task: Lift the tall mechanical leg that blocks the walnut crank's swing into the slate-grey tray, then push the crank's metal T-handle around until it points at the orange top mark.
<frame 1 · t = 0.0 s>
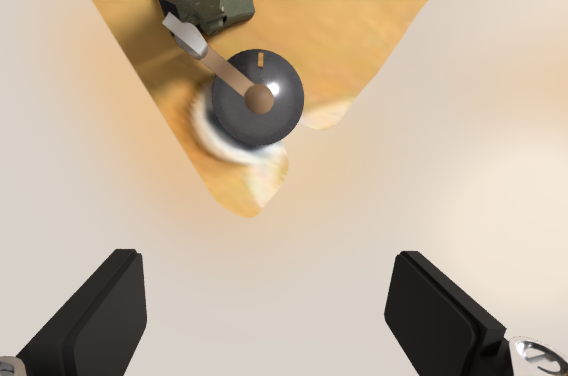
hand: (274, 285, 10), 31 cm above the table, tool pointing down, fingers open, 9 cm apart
mechanical leg: (213, 2, 34), on the table
crank: (227, 71, 31), point 6 cm above the table, hinge at 55.0°
crank base: (258, 99, 38), on the table
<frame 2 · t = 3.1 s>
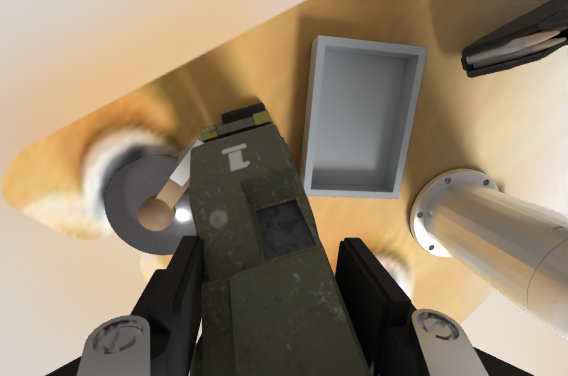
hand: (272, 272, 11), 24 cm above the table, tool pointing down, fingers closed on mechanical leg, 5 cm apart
mechanical leg: (258, 159, 34), on the table, touching gripper
tray: (352, 123, 33), on the table
crank: (172, 189, 27), point 6 cm above the table, hinge at 55.0°
crank base: (164, 204, 34), on the table
magazine: (563, 7, 33), on the table
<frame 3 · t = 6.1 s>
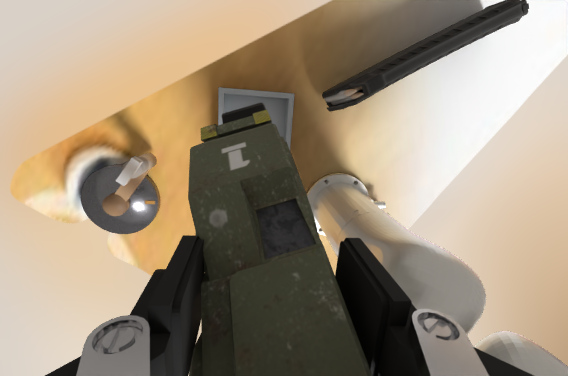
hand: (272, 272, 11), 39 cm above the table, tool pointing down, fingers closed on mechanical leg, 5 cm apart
mechanical leg: (258, 159, 34), point 15 cm above the table, touching gripper
tray: (254, 142, 48), on the table
crank: (123, 188, 42), point 6 cm above the table, hinge at 55.0°
crank base: (123, 198, 48), on the table
magazine: (400, 61, 48), on the table
when the fingers open (25 cm above the table, at t = 9.1 s): mechanical leg stays where it is, resting on tray.
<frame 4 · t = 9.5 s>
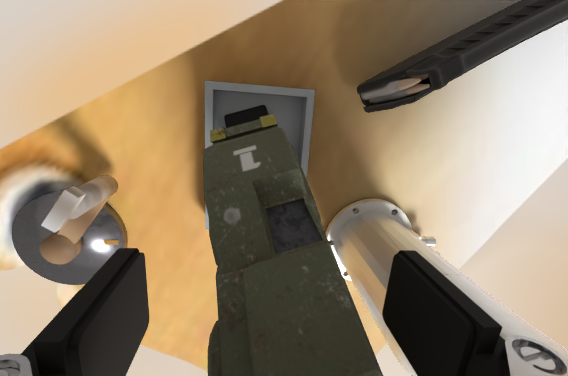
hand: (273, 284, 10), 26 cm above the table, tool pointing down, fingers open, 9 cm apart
mechanical leg: (259, 160, 34), resting on tray
tray: (257, 157, 35), on the table
crank: (64, 229, 28), point 6 cm above the table, hinge at 55.0°
crank base: (76, 236, 35), on the table
magazine: (464, 43, 34), on the table
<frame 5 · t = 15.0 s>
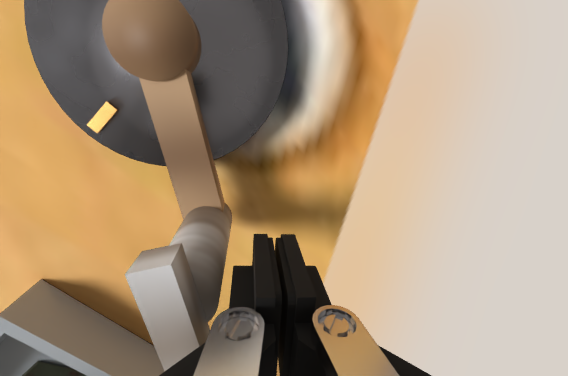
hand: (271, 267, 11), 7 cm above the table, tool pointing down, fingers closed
crank: (166, 153, 11), point 6 cm above the table, hinge at 55.0°, touching gripper
crank base: (172, 50, 15), on the table
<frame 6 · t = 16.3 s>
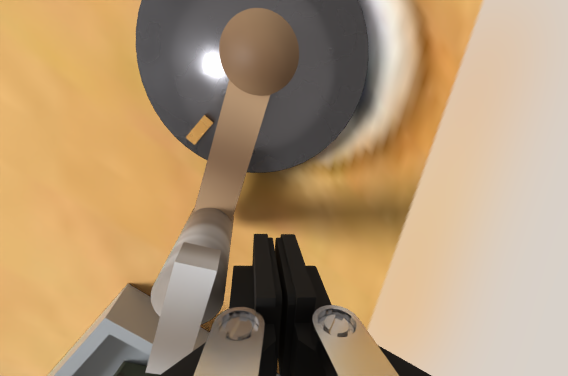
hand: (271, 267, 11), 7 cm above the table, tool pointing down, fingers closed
crank: (228, 159, 11), point 6 cm above the table, hinge at 24.1°, touching gripper
crank base: (257, 64, 16), on the table
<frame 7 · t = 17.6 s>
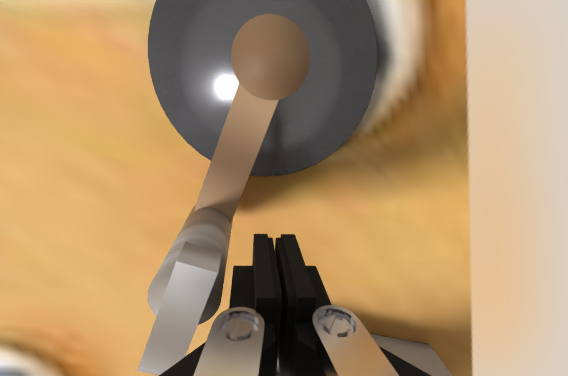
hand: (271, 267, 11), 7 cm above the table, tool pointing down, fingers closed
crank: (234, 161, 11), point 6 cm above the table, hinge at -4.6°, touching gripper
crank base: (266, 69, 16), on the table
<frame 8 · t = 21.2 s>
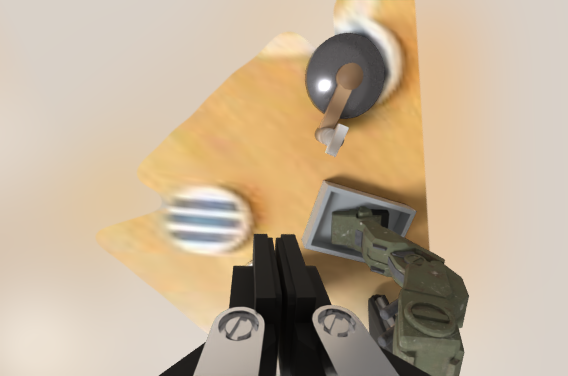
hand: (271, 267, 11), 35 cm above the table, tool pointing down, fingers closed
mechanical leg: (353, 224, 50), resting on tray
tray: (354, 222, 51), on the table
crank: (342, 107, 39), point 6 cm above the table, hinge at -4.8°
crank base: (343, 78, 43), on the table
magazine: (376, 344, 60), on the table
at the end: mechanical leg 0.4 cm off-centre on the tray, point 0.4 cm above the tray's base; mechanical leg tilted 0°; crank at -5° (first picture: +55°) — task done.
